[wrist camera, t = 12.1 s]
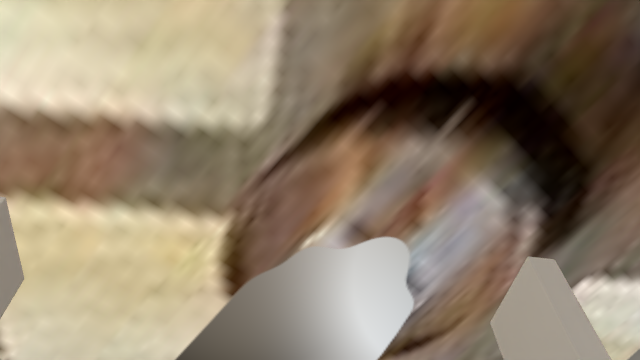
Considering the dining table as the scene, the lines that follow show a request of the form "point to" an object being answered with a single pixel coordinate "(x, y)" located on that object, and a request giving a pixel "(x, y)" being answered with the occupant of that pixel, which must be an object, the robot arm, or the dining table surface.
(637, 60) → the dining table surface
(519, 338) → the robot arm
